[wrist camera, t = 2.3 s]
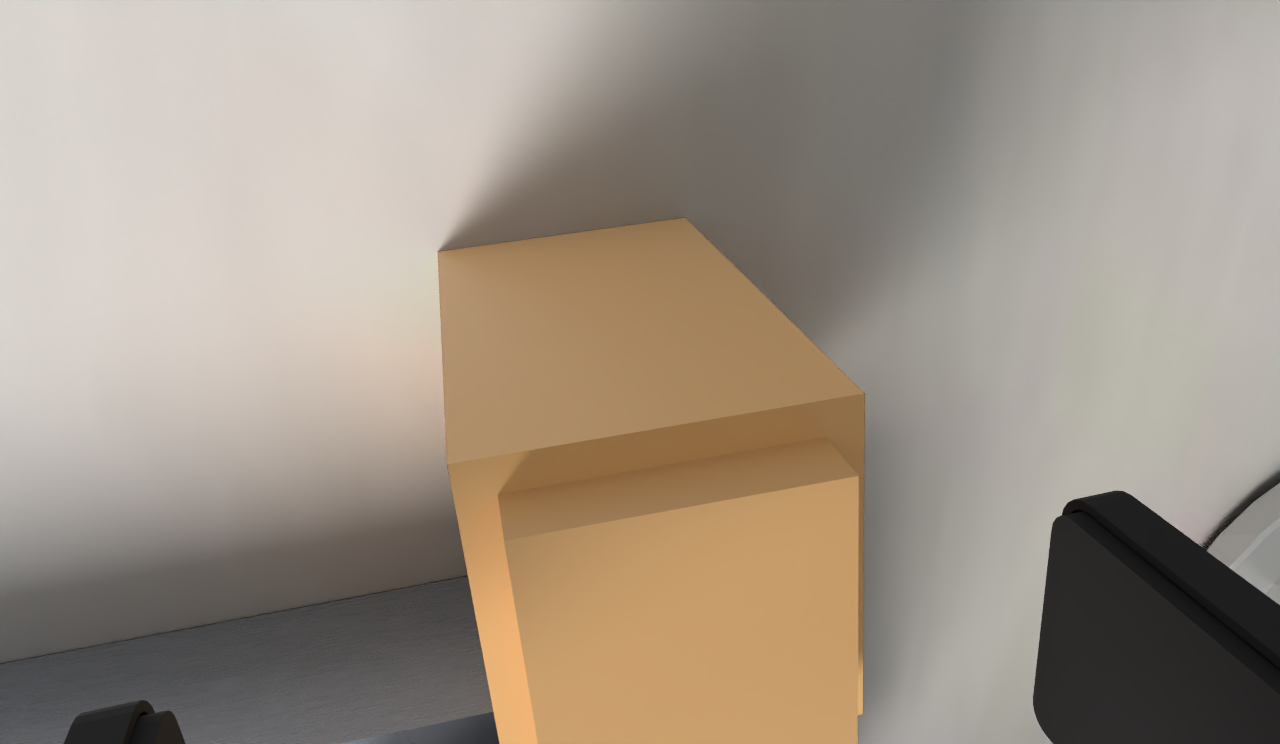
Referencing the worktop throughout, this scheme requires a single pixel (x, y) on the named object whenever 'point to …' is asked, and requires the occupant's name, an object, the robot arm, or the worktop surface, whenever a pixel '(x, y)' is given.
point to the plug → (651, 494)
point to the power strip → (281, 676)
